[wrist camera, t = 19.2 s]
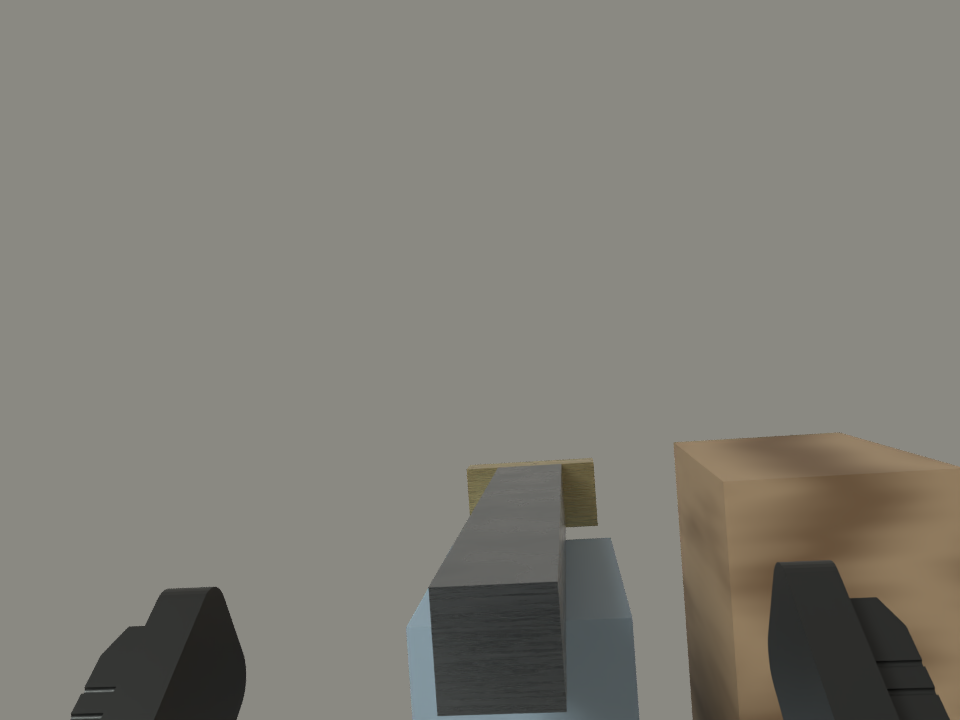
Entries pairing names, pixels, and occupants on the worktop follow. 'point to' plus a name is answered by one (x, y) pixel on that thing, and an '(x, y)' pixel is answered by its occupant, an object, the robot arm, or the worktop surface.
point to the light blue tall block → (589, 644)
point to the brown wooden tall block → (811, 552)
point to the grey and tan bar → (509, 590)
